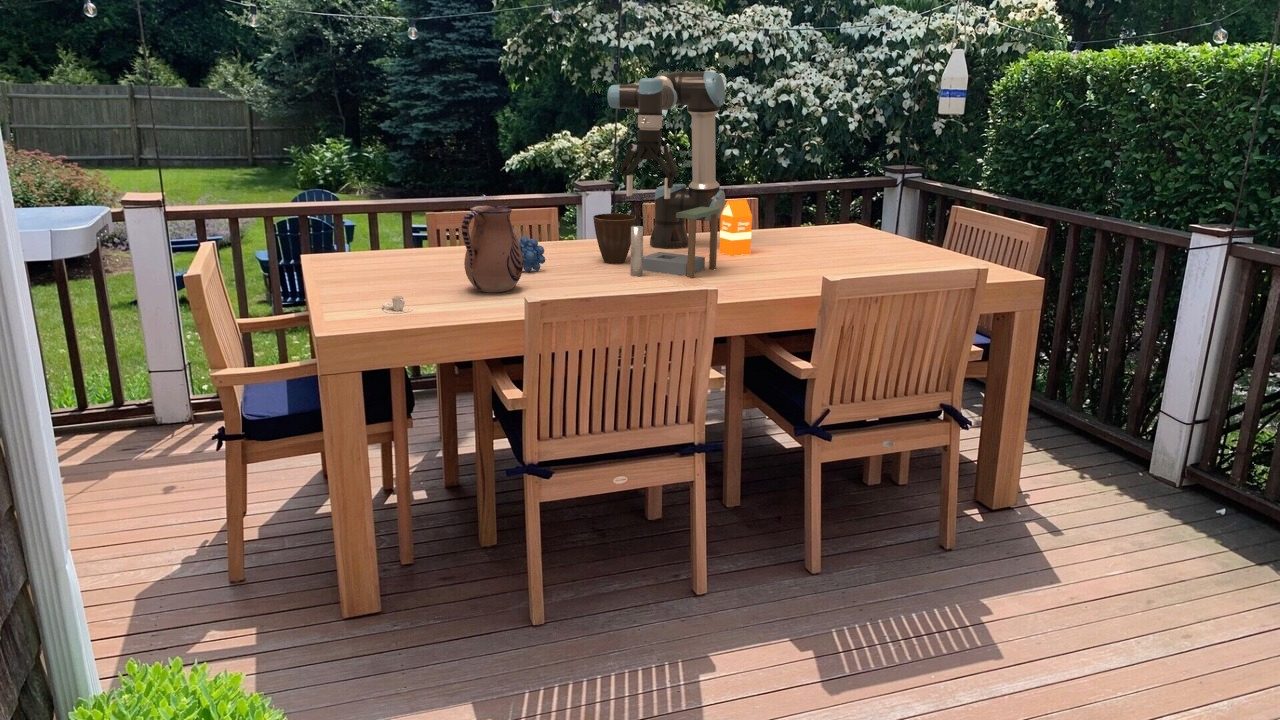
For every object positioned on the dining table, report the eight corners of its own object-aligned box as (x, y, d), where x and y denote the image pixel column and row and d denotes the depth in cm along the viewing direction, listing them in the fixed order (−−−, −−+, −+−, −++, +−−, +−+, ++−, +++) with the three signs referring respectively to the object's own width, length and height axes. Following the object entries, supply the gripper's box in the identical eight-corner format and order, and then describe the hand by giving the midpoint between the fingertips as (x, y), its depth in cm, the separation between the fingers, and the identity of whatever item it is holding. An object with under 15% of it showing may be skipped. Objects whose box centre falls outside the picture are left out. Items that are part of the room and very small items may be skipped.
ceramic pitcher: (534, 286, 286) (532, 205, 278) (497, 301, 267) (494, 214, 260) (486, 281, 292) (483, 202, 285) (447, 295, 274) (442, 210, 267)
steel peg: (628, 275, 303) (628, 227, 299) (634, 273, 307) (634, 225, 302) (638, 277, 301) (639, 228, 297) (644, 274, 305) (645, 226, 300)
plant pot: (643, 264, 322) (643, 218, 317) (604, 267, 316) (604, 220, 311) (624, 256, 335) (624, 212, 330) (586, 259, 328) (586, 214, 323)
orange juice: (750, 254, 342) (753, 200, 336) (731, 256, 337) (733, 201, 331) (737, 251, 348) (740, 197, 342) (718, 253, 344) (720, 199, 338)
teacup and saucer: (378, 309, 258) (377, 295, 257) (406, 306, 262) (405, 292, 261) (388, 316, 251) (387, 301, 250) (416, 312, 255) (415, 298, 254)
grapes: (514, 275, 301) (513, 239, 298) (509, 271, 307) (508, 235, 304) (548, 273, 305) (548, 237, 302) (543, 269, 311) (543, 234, 308)
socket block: (638, 269, 313) (638, 258, 311) (658, 263, 324) (659, 251, 323) (685, 275, 304) (685, 264, 303) (704, 268, 315) (705, 257, 314)
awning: (674, 275, 304) (676, 212, 298) (699, 266, 319) (701, 206, 312) (693, 278, 300) (695, 214, 294) (717, 269, 315) (720, 208, 309)
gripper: (609, 128, 293) (608, 195, 299) (680, 130, 282) (678, 200, 288) (620, 127, 300) (619, 193, 306) (690, 130, 289) (688, 198, 295)
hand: (648, 197), depth 297 cm, fingers open, 13 cm apart
